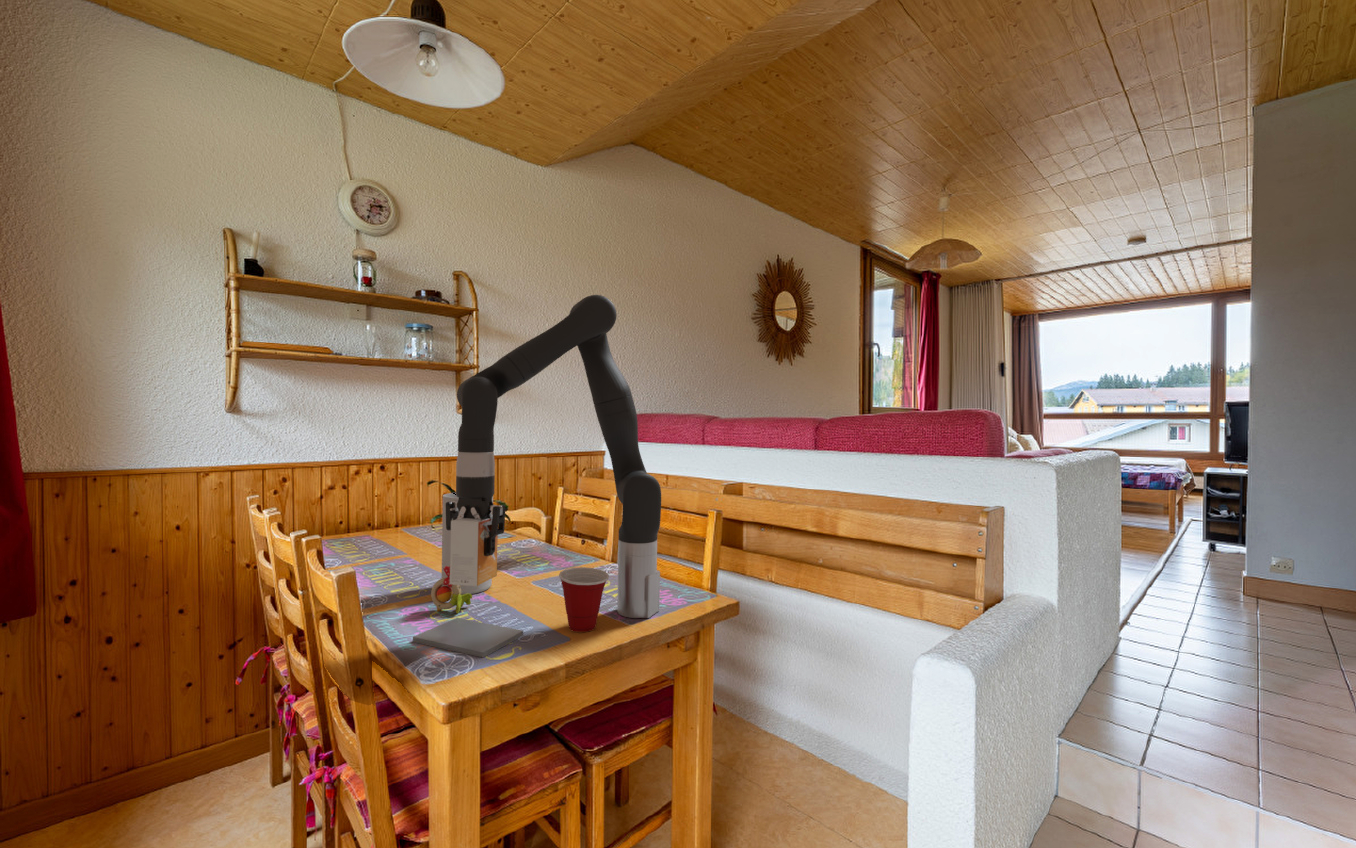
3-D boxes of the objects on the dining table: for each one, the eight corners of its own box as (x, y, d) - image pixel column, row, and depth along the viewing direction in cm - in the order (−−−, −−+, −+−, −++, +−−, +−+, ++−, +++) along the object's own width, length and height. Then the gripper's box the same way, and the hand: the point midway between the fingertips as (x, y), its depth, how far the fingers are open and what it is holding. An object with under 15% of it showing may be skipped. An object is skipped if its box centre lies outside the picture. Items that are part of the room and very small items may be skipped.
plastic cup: (587, 641, 114) (588, 583, 114) (547, 630, 119) (548, 575, 119) (618, 625, 123) (619, 571, 123) (579, 615, 129) (580, 564, 129)
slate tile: (523, 635, 116) (523, 630, 116) (483, 657, 105) (483, 652, 105) (457, 622, 123) (457, 617, 123) (412, 641, 112) (412, 636, 112)
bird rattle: (433, 624, 127) (469, 609, 127) (415, 579, 128) (451, 564, 127) (446, 615, 134) (480, 601, 133) (428, 572, 134) (462, 558, 134)
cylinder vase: (501, 585, 151) (503, 493, 151) (466, 598, 140) (468, 499, 139) (466, 579, 156) (468, 490, 156) (430, 591, 145) (432, 495, 145)
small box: (477, 587, 111) (478, 522, 111) (448, 584, 112) (449, 520, 112) (498, 576, 119) (498, 515, 119) (470, 574, 120) (471, 513, 120)
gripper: (515, 474, 116) (514, 553, 116) (462, 470, 121) (460, 546, 121) (490, 477, 109) (489, 561, 109) (435, 473, 114) (433, 553, 114)
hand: (474, 553), depth 115 cm, fingers closed on small box, 7 cm apart
